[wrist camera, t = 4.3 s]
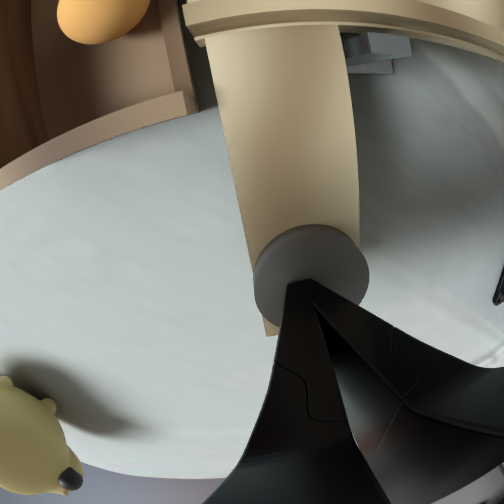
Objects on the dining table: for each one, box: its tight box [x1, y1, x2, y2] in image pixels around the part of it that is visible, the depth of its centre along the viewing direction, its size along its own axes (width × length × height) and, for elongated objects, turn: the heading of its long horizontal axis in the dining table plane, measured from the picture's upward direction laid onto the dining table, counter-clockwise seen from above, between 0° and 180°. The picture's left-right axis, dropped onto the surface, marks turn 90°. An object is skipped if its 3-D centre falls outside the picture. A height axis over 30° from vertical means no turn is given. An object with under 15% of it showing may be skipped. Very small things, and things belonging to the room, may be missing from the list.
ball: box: [57, 0, 150, 45], centre depth 5 cm, size 3×3×3 cm
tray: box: [0, 0, 200, 190], centre depth 5 cm, size 7×10×4 cm
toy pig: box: [0, 376, 83, 495], centre depth 13 cm, size 10×12×11 cm
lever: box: [182, 0, 504, 337], centre depth 6 cm, size 15×16×2 cm
